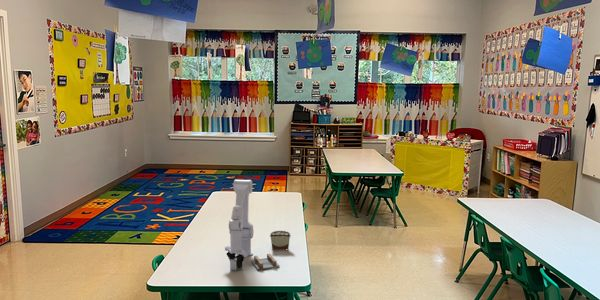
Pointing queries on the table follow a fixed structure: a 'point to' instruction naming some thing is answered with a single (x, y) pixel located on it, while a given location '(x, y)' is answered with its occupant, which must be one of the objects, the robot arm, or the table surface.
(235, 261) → the steel block
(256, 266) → the slot seat
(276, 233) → the food container
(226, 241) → the table surface
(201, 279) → the table surface
